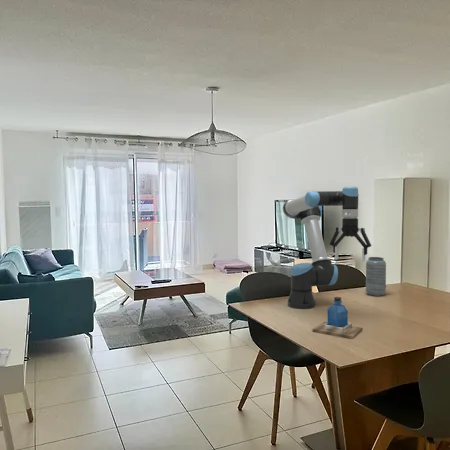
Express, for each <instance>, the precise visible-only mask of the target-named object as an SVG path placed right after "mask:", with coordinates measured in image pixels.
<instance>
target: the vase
mask: <svg viewBox="0 0 450 450" xmlns="http://www.w3.org/2000/svg"><path fill="white" fill-rule="evenodd" d="M386 286H387V262H386V260H384V257H380V256H370V257H368V259H367V260H366V261H365V292H366V293H367V294H368V296H371V297H382V296H384V294H386V293H387V287H386Z"/></svg>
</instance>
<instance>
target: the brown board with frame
mask: <svg viewBox="0 0 450 450" xmlns="http://www.w3.org/2000/svg"><path fill="white" fill-rule="evenodd" d="M311 330H312V331H311V332H313V333H318V334H323V335H328V336H333V337H334V336H335V337H340V338H344V339H349V340H350V339H351V340H353V339H355V338H356V336H358V335H359V334H360V333H362V331H363V327H360V326H355V325H353V323H352V322H348V325H345V326H340V327H336V326H333V325H331V324H328V321H326V320H325V321H323V322H321V323H320V324H318V325H317V326H315V327H313V328H312V329H311Z"/></svg>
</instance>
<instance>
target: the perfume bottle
mask: <svg viewBox="0 0 450 450" xmlns="http://www.w3.org/2000/svg"><path fill="white" fill-rule="evenodd" d="M348 318H349V312H348V309H347V308H346V306H345V305H344V304H342V297H340V296H334V297H333V304H332V303H331V304H330V306H329V307H328V309H327V322H328V324H331V325H333V326H336V327H340V326H345V325H348V323H349V321H348V320H349V319H348Z"/></svg>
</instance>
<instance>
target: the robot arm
mask: <svg viewBox="0 0 450 450" xmlns="http://www.w3.org/2000/svg"><path fill="white" fill-rule="evenodd" d="M359 196H360V195H359V188H358V187H357V186H344V187H343V188H342V190H336V191H335V190H334V191H333V190H332V191H330V190H329V191H325V190H324V191H323V190H322V191H320V190H319V191H316V190H312V191H307V192H306V194H305V195H304V196H302V197H299V198H296V199H289V200H287V201H285V202H284V203H283V206H282V211H283V214H284V215H285V216H286V217H287V218H289V219H295V220H298V219H299V220H300V223H301V224H302V225H304V230H305V233H306V238H307V242H308V246H309V247H308V248H309V251H310V254H311V259H312V262H301V263H296V264H294V265H292V266H291V269H290V293H289V297H288V300H287V306H288V307H290V308H293V309H301V310H302V309H303V310H305V309H313V308H315V307H316V300H315V297H314V294H313V287H323V286H327V287H328V286H333V285H335V284H336V283H337V281H338V277H339V269H338V266H337V265H336V264H335V263H333V262H332V260H331V259H330V258H328V255H327V254H328V253H327V250H326V246H325V242H324V238H323V234H322V230H321V225H320V220H321V217H322V215H323V212H322V211H323V207H326V206H327V207H333V206H334V207H337V206H338V207H339V206H341V207H342V209H341V210H342V211H341V212H342V215H341V216H342V222H341V223H342V224H341V225H342V227H339V226H338V227H337V226H336V227H335V232H334V234H333V236H332V238H331V239H330V242H329V246H332V247H333V249H332V250H333V251H332V252H333V253H334V260H336V261H337V260H339V246H338V245H339V244H340V243H341V242H342V240H343V239H344V238H346V237H351V238H353V237H354V238H355V239H356V240H357V241H358V243H359V244H360V245H361V247H362V248H361V262H363V263H364V262H366V256H367V255H368V249H369V248H370V247H372V244H371V242H370V239H369V238H368V235H367V233H366V230H365V227H359V218H358V217H359ZM340 232H342V233H341V235H340V236H339V234H340ZM359 232H360V233H361V235H362V237H361V236H360V235H359ZM338 236H339V237H338ZM362 238H363V239H362Z"/></svg>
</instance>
